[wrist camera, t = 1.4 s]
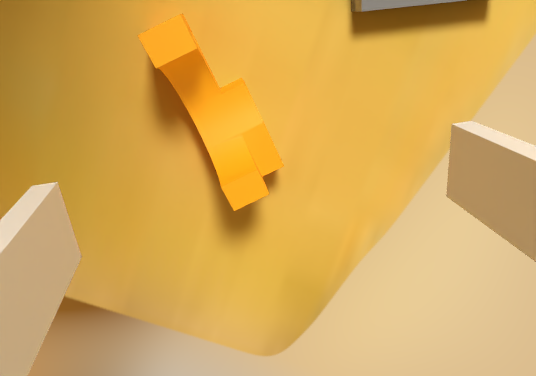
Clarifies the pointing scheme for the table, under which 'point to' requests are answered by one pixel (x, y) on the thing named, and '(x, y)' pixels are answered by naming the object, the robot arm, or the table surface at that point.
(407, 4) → the tray
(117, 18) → the table surface
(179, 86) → the pipe clamp
